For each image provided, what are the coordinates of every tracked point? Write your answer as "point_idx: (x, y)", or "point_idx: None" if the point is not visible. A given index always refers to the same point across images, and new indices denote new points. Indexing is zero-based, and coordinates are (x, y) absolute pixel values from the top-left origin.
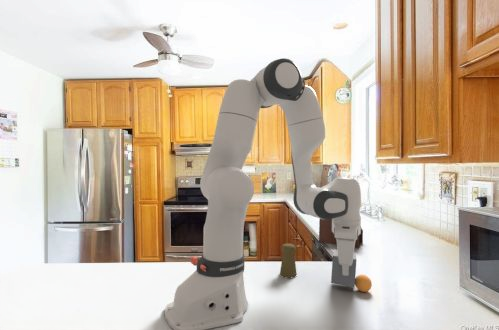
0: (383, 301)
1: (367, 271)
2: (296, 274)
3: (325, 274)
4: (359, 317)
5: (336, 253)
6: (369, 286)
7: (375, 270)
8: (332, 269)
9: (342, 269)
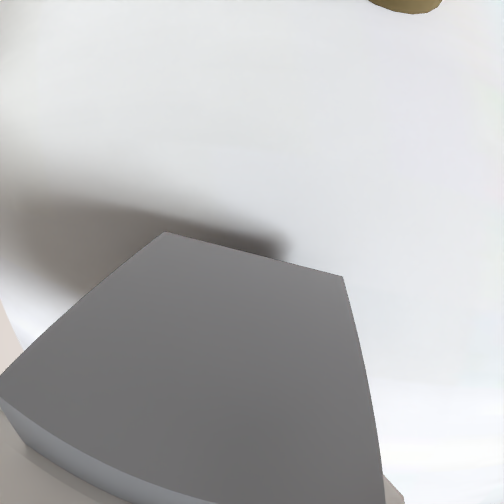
0: None
1: (439, 437)
2: (392, 4)
3: (447, 231)
4: (15, 285)
5: (122, 487)
6: None
7: (438, 455)
8: (102, 286)
9: None
